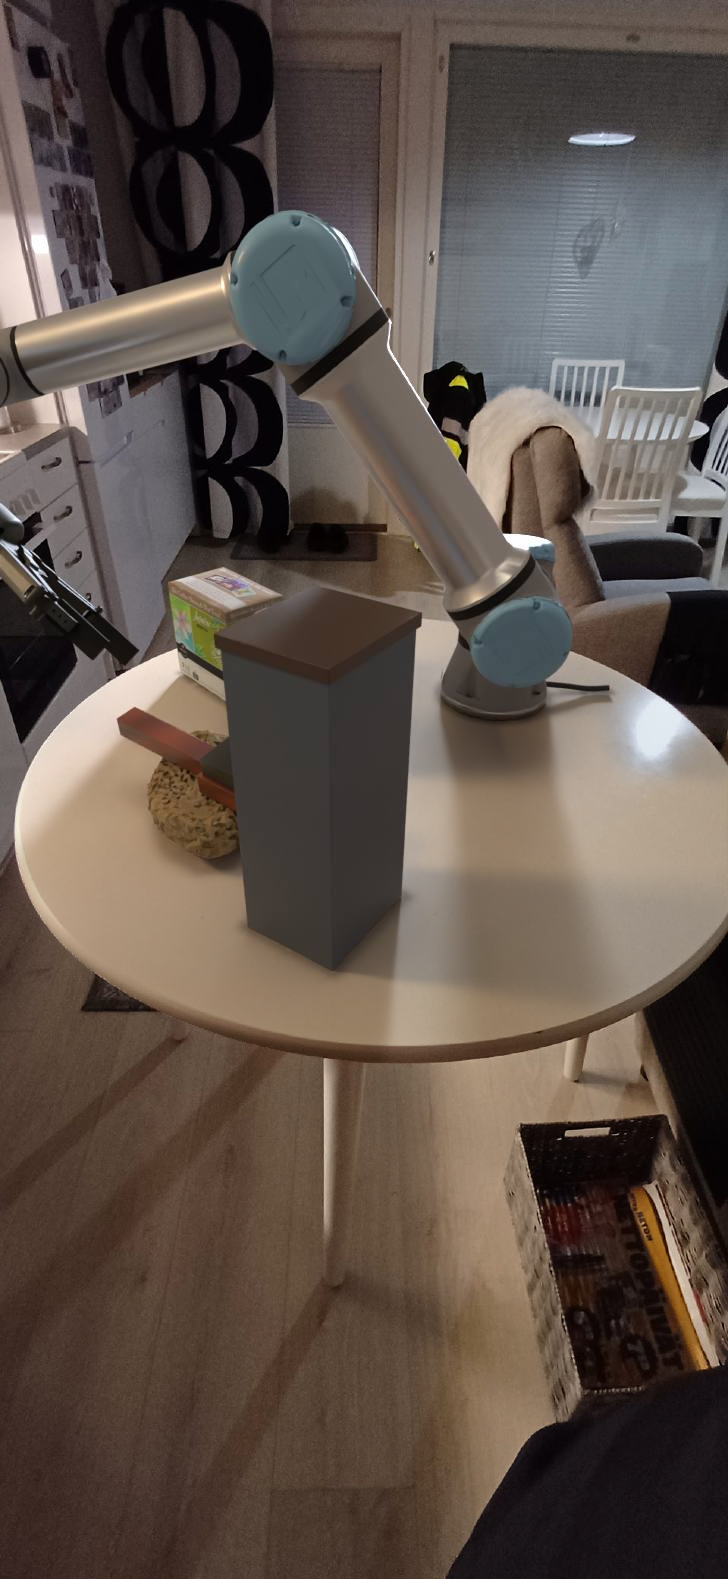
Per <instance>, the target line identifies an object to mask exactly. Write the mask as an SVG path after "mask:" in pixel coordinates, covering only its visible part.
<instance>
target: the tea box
mask: <svg viewBox="0 0 728 1579" xmlns="http://www.w3.org/2000/svg"><path fill="white" fill-rule="evenodd" d="M167 585H168V586H167V587H168V595H169V602H170V607H171V608H170V609H171V616H172V617H171V618H172V623H173V630H174V639H175V643H176V650H177V658H178V665H179V670H180V672H181V673H182V674H184V675H185V676H186V677H189V678H190V679H191V680H193V681H195V682H196V683H197V684H198V685H200V686H202V687H203V688H205V689H207V691H209V692H210V693H212V694H214V695H216V696H217V697H219V699H221V700H222V701H224V702H225V703H226V699H225V689H224V679H223V668H222V658H221V649H217V648H215V644H214V633H215V632H217V631H219V630H222V629H224V628H226V627H228V626H230V625H232V624H234V623H236V622H238V621H240V620H243V619H245V618H247V617H249V616H251V615H253V614H254V613H255V612H257V611H260V610H262V609H264V608H267V607H270V606H272V605H274V604H276V603H278V602H280V601H283V600H284V595H283V594H281V593H278V592H276V591H274V590H272V589H270V588H268V587H266V586H264V585H261V584H260V583H257V582H256V581H253V580H251V579H249V578H248V577H245V576H244V575H241V574H239V573H237V572H234V571H233V570H231V569H228V568H227V567H225V566H223V567H219V568H214V569H211V570H208V571H204V572H201V573H198V574H197V573H196V574H193V575H190V576H186V577H183V578H179V579H175V580H172V581H169V580H168V581H167Z"/></svg>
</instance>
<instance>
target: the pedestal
mask: <svg viewBox="0 0 728 1579" xmlns="http://www.w3.org/2000/svg"><path fill="white" fill-rule="evenodd" d="M422 622H423V612H422V611H417V610H414V609H410V608H406V607H403V606H399V605H394V604H390V603H386V602H382V601H378V600H374V599H370V598H368V597H363V596H359V595H356V594H351V593H347V592H343V591H339V590H335V589H331V588H327V587H324V586H319V585H311V586H310V587H308V588H306V589H304V590H301V591H300V592H297V593H295V594H293V595H291V596H289V597H287V598H285V599H283V601H280V602H278V603H276V604H274V605H272V606H270V607H268V608H266V609H264V610H262V611H259V612H257V613H255V614H253V615H251V616H249V617H247V618H245V619H243V620H240V621H238V622H236V623H234V624H232V625H230V626H228V627H226V628H224V629H222V630H219V631H217V632H215V633H214V644H215V648H217V649H221V658H222V668H223V679H224V689H225V699H226V702H225V706H226V707H225V709H226V719H227V720H226V721H227V729H228V737H229V740H230V750H231V761H232V771H233V781H234V791H235V802H236V812H237V822H238V832H239V843H240V845H239V851H240V862H241V872H242V883H243V892H244V894H243V895H244V904H245V913H246V914H245V915H246V922H247V925H246V926H247V927H248V928H250V929H251V930H253V931H255V932H257V933H259V934H261V935H263V936H265V937H267V938H269V939H271V940H273V941H274V942H277V943H278V944H280V945H282V946H284V947H286V948H288V949H290V950H292V951H293V952H295V953H297V954H299V955H301V956H303V957H305V958H307V959H309V960H311V961H313V962H315V963H316V964H318V965H321V966H322V967H324V968H325V969H328V970H330V971H332V972H333V971H334V970H335V969H336V968H337V967H338V966H339V965H340V964H341V963H342V961H343V960H344V959H345V958H346V957H347V956H348V955H349V954H350V953H351V952H352V951H353V949H355V947H356V946H357V945H358V944H359V943H360V942H361V941H362V939H363V938H364V937H366V935H368V933H369V932H371V930H372V929H373V928H374V927H375V926H376V925H377V924H378V923H379V921H380V920H381V919H382V918H383V917H384V916H385V915H386V914H387V913H388V912H389V911H390V910H391V909H392V907H394V905H395V904H396V903H397V902H398V901H399V900H400V899H401V898H402V896H403V878H404V861H405V860H404V859H405V842H406V824H407V806H408V805H407V804H408V790H409V772H410V770H409V769H410V751H411V750H410V749H411V734H412V733H411V732H412V716H413V715H412V714H413V713H412V712H413V700H414V699H413V697H414V681H415V679H414V678H415V663H416V662H415V661H416V644H417V642H416V641H417V630H418V629H420V628H421V627H422V624H423V623H422Z"/></svg>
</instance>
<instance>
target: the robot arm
mask: <svg viewBox="0 0 728 1579" xmlns="http://www.w3.org/2000/svg"><path fill="white" fill-rule="evenodd" d="M391 327H392V321H391V319H390V317H389V316H388V314H387V312H386V310H385V309H384V307H383V306H382V303H381V302H380V301H379V299H378V296H376V294H375V292H374V291H373V289H372V287H371V285H370V284H369V283H368V280H367V279H366V277H365V276H364V273H363V272H362V271H361V267H360V263H359V261H358V257H357V254H356V252H355V251H354V248H353V246H352V245H351V244H350V242H349V241H348V239H347V238H346V237H345V235H344V234H343V233H342V232H341V231H340V230H338V229H337V228H336V227H335V226H333V225H332V224H330V223H329V222H326V221H324V220H323V218H321V217H319V216H317V215H315V214H313V213H309V212H306V211H302V210H297V209H291V210H282V211H278V212H276V213H274V214H270V215H268V216H267V217H265V218H264V219H263V220H262V221H260V222H258V223H257V224H255V225H254V227H251V229H250V230H249V231H248V232H247V233H246V234H245V236H244V237H243V239H242V240H241V242H240V244H238V247H237V249H236V250H231V251H229V252H228V253H227V256H226V258H225V260H224V262H223V264H222V265H221V266H217V267H214V268H210V269H207V270H203V271H200V272H197V273H193V274H189V275H186V276H183V277H179V278H175V279H172V280H168V281H165V282H162V283H158V284H155V285H151V286H148V287H145V288H141V289H137V290H134V291H131V292H127V293H123V294H120V295H115V296H113V297H109V298H106V299H102V300H99V301H96V302H92V303H88V304H86V305H85V304H84V305H81V306H77V307H74V308H71V309H67V310H64V311H61V312H58V313H57V312H56V313H53V314H50V315H46V316H43V317H40V318H35V319H31V320H29V321H26V322H22V323H19V324H16V325H13V326H8V327H4V328H0V409H2V408H5V407H8V406H11V405H15V404H18V403H22V402H26V401H29V400H30V401H31V400H33V399H37V398H42V397H45V396H47V395H50V394H54V393H57V392H62V391H65V390H69V389H74V388H77V387H79V386H84V385H88V384H93V383H96V382H100V381H105V380H108V379H111V378H115V377H119V376H122V375H126V374H131V373H135V372H138V371H142V370H145V369H146V370H147V369H150V368H154V367H157V366H161V365H166V364H169V363H173V362H176V361H181V360H184V359H188V358H192V357H195V356H199V355H203V354H208V353H210V352H215V351H218V350H222V349H226V348H230V347H234V346H237V345H241V344H244V345H246V346H247V347H249V348H250V349H251V350H254V351H257V352H259V353H260V354H261V355H262V356H264V357H265V358H266V359H268V360H270V361H272V362H273V363H274V365H275V366H276V368H277V369H278V370H279V372H280V373H281V374H282V376H283V378H284V379H285V380H286V382H287V383H288V384H289V386H290V387H291V389H292V390H293V392H294V394H295V395H296V397H297V398H298V399H299V400H302V401H307V402H308V401H309V402H313V403H317V404H319V405H321V406H322V408H323V409H324V410H325V412H326V413H327V415H328V416H329V418H330V420H331V421H332V422H333V424H334V425H335V427H336V428H337V430H338V431H339V433H340V434H341V436H342V437H343V439H344V440H345V441H346V443H347V444H348V446H349V447H350V449H351V451H352V452H353V453H354V454H355V456H356V458H357V460H359V462H360V463H361V465H362V467H363V468H364V470H365V471H366V472H367V474H368V476H369V477H370V479H371V480H372V481H373V483H374V484H375V485H376V487H377V489H378V490H379V491H380V493H381V495H383V497H384V499H385V500H386V502H387V503H388V505H389V506H390V507H391V510H393V512H394V514H395V515H396V516H397V518H398V519H399V521H400V522H401V524H402V525H403V526H404V528H405V529H406V531H407V532H408V534H409V536H410V537H411V538H412V540H413V541H414V543H415V544H416V546H417V547H418V549H419V551H420V552H421V553H422V555H423V556H424V557H425V560H426V561H427V562H428V563H429V565H430V566H431V568H432V570H433V571H434V572H435V574H436V575H437V577H438V578H439V580H440V581H441V582H442V584H443V585H444V593H443V598H442V602H441V603H442V607H443V609H444V610H445V612H446V613H447V615H448V616H449V618H450V619H451V621H452V622H453V623H454V625H455V626H456V628H457V629H458V635H457V642H456V643H457V644H456V645H455V647H454V650H453V652H452V655H451V656H450V659H449V661H448V664H447V666H446V668H445V670H442V671H441V676H440V680H441V682H440V683H441V685H440V695H441V698H442V700H443V701H444V702H445V703H446V704H447V705H448V706H449V707H450V708H452V709H454V710H455V711H456V712H457V711H458V712H459V713H462V714H464V715H467V716H469V717H474V718H478V719H483V720H491V721H511V720H519V719H524V718H527V717H530V716H532V715H535V714H537V713H538V712H539V711H541V710H542V709H543V708H544V706H545V704H546V699H547V694H548V691H547V690H548V688H551V689H552V688H554V689H563V690H565V689H566V690H573V691H580V692H609V691H610V690H611V689H610V684H598V685H586V684H576V683H569V682H561V681H560V682H559V681H549V680H548V679H549V678H550V677H552V676H553V675H555V673H557V672H558V671H559V670H560V669H561V668H562V666H563V665H564V663H565V662H566V660H567V659H568V657H569V654H570V652H571V649H572V646H573V636H574V635H573V627H572V626H573V622H572V618H571V616H570V614H569V613H568V611H567V609H566V608H565V607H564V604H563V602H562V599H561V598H560V596H559V593H558V591H557V589H556V587H555V585H554V582H553V571H554V565H555V564H556V562H557V561H556V560H557V559H556V546H555V544H554V543H553V542H552V541H550V540H548V539H545V538H542V537H539V536H532V535H527V534H526V535H525V534H514V533H513V534H512V533H510V534H509V533H503V531H502V530H501V528H500V526H499V525H498V523H497V522H496V520H495V518H494V517H493V515H492V513H491V512H490V510H489V508H488V507H487V505H486V504H485V502H484V500H483V499H482V497H481V496H480V494H479V492H478V491H477V489H476V487H475V486H474V484H473V483H472V481H471V479H470V478H469V476H468V474H467V473H466V471H465V469H464V468H463V466H462V464H461V463H460V461H459V460H458V458H457V457H456V455H455V453H454V451H453V450H452V449H451V447H450V445H449V443H448V442H447V440H446V439H445V437H444V436H443V434H442V432H441V431H440V429H439V427H438V425H437V424H436V423H435V421H434V419H433V418H432V415H431V414H430V413H429V412H428V409H427V408H426V407H425V404H424V403H423V402H422V400H421V398H420V396H419V395H418V393H417V391H416V390H415V389H414V387H413V386H412V384H411V382H410V380H409V378H408V377H407V376H406V374H405V372H404V371H403V369H402V367H401V366H400V364H399V363H398V361H397V359H396V358H395V356H394V355H393V353H392V351H391V349H390V336H391V335H390V334H391ZM24 535H25V527H24V524H23V522H22V521H21V520H20V519H19V518H18V517H17V516H16V515H15V514H14V513H12V512H11V510H9V509H8V508H7V507H6V506H5V505H4V504H2V502H0V578H1V579H2V581H4V583H5V584H6V585H7V586H8V587H9V588H10V589H11V590H12V592H13V593H14V594H15V595H16V596H17V597H18V598H19V599H20V600H21V601H22V602H23V604H24V606H25V607H27V608H30V609H31V611H30V612H29V615H30V616H31V617H32V618H34V619H35V620H37V621H40V620H41V619H42V618H43V616H44V615H45V614H46V615H45V616H44V618H45V620H47V621H48V622H49V623H50V625H52V626H53V627H55V629H56V630H58V631H59V633H60V634H62V635H63V636H64V637H65V638H66V639H68V640H69V641H70V642H71V643H72V644H73V645H74V646H75V647H76V648H78V649H79V651H81V652H82V653H83V654H84V655H85V656H86V657H87V658H88V659H90V660H91V661H95V660H96V659H97V657H98V656H99V655H100V654H101V653H102V652H103V651H104V650H106V651H107V652H108V653H109V654H111V655H112V656H113V657H114V658H115V660H117V661H118V662H119V663H120V664H121V665H122V666H124V667H126V666H127V665H128V664H129V663H130V662H131V661H132V660H133V659H134V658H135V656H136V655H137V654H138V653H139V652H140V651H141V650H140V649H139V648H138V647H137V646H136V645H135V644H134V643H133V642H132V641H131V640H130V639H129V638H128V637H126V636H125V635H124V634H123V633H122V632H121V631H120V630H119V629H118V628H117V627H116V626H114V624H112V622H110V621H109V620H108V619H107V618H106V617H105V616H104V615H103V613H104V611H105V609H104V608H103V607H102V606H101V605H100V604H99V605H98V606H97V607H96V606H94V605H93V604H92V603H91V602H89V600H87V599H86V598H85V597H83V595H81V594H80V593H79V592H77V591H76V590H75V589H74V588H73V587H72V586H70V585H69V584H68V583H67V582H65V580H63V579H62V578H61V577H59V576H58V574H57V573H56V572H55V571H54V570H53V569H51V568H50V567H49V566H48V565H46V564H45V563H44V562H43V561H42V559H41V558H40V557H39V555H38V554H36V553H35V552H34V551H32V550H31V549H27V548H26V547H25V546H23V545H22V544H21V542H22V540H23V538H24Z"/></svg>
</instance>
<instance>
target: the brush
mask: <svg viewBox="0 0 728 1579" xmlns="http://www.w3.org/2000/svg"><path fill="white" fill-rule="evenodd" d="M116 722H117V727H118V731H119V735H120V736H121V737H123V738H125V739H127V740H129V741H131V742H133V743H135V744H137V745H139V746H141V747H142V748H145V749H146V750H148V751H149V752H152V753H154V754H155V755H158V756H159V757H161V758H165V759H167V760H169V761H171V762H173V763H175V764H177V765H178V766H180V767H182V768H184V769H186V770H188V771H190V772H192V773H194V774H196V775H197V779H198V785H199V791H200V793H202V794H204V795H206V796H208V797H210V798H212V799H213V800H215V801H217V802H219V803H221V804H223V805H225V806H227V807H228V808H230V809H232V810H234V811H236V802H235V791H234V781H233V771H232V761H231V750H230V740H229V736H227V737H228V738H226V739H225V740H224V741H222V742H221V743H220V744H219V745H217V746H216V747H214V746H212V745H210V744H208V743H206V742H204V741H202V740H200V739H198V738H196V737H194V736H192V735H190V734H189V732H187V731H184V730H183V729H180V728H178V727H176V726H175V725H172V724H170V723H169V722H167V721H164V720H163V719H160V718H158V717H157V716H154V715H152V714H151V713H149V712H146V711H145V710H143V709H140V708H139V707H136V706H134V707H132V708H130V709H129V710H127V711H126V712H125V713H122V714H121V715H120V716H118V717H117V718H116Z"/></svg>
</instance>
